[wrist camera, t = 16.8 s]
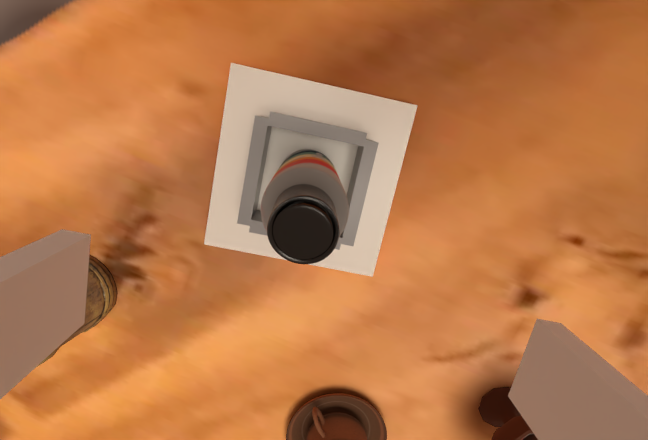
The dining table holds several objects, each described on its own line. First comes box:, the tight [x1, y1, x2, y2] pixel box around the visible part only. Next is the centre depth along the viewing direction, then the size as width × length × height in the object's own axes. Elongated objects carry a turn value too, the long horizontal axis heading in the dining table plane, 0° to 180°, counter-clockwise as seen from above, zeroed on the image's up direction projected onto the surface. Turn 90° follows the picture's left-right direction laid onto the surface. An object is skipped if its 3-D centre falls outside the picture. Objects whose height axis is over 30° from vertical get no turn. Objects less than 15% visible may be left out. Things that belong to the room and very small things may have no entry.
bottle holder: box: [204, 63, 418, 277], centre depth 39 cm, size 18×18×6 cm
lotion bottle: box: [261, 149, 349, 264], centre depth 30 cm, size 6×6×20 cm
